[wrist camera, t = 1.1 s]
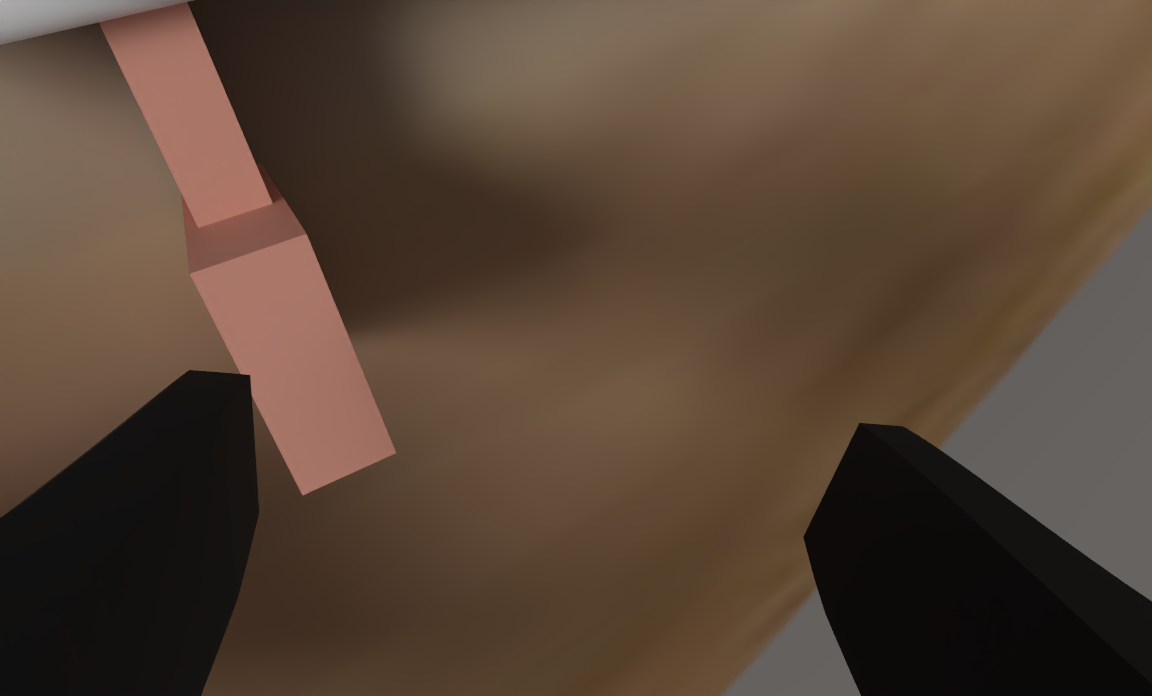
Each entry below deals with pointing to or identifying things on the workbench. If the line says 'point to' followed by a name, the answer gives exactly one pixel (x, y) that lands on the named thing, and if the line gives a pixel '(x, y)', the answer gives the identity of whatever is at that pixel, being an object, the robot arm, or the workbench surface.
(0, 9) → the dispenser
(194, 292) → the workbench surface
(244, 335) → the pink stepped stick
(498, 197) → the workbench surface
